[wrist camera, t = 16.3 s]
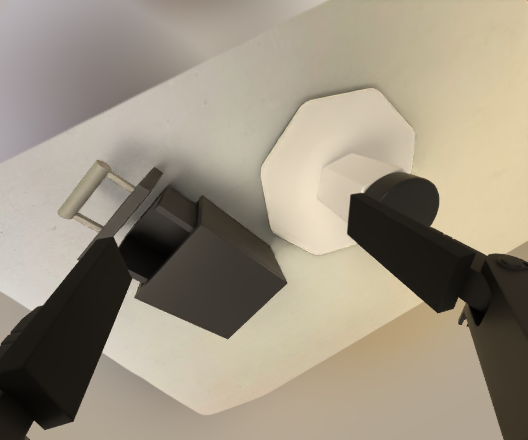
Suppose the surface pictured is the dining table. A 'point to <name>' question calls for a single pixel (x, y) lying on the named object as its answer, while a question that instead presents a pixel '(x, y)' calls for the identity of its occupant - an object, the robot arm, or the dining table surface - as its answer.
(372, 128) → the plate
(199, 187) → the dining table surface
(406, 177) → the jar
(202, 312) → the dark grey box
